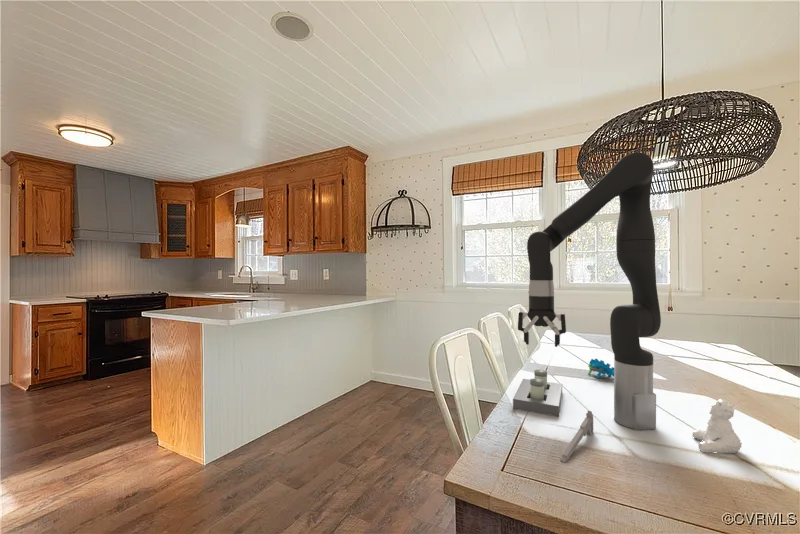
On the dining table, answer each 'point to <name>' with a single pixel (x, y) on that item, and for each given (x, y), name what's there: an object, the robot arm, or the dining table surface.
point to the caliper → (579, 436)
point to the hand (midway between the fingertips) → (541, 345)
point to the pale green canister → (537, 389)
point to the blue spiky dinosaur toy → (600, 368)
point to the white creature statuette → (719, 431)
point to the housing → (539, 406)
